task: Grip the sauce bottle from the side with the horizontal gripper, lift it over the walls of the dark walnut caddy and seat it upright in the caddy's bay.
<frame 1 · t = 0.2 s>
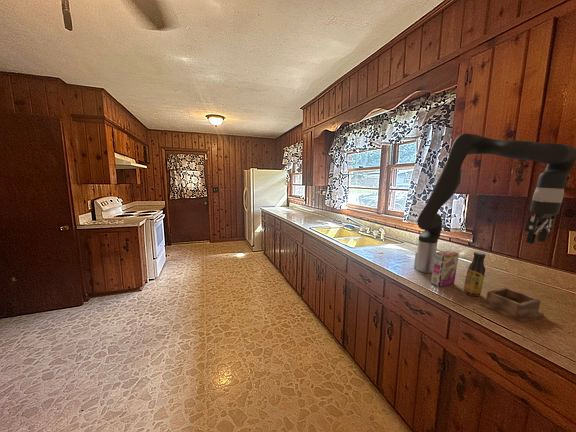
hand: (535, 242, 91), 29 cm above the table, tool pointing down, fingers open, 8 cm apart
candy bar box: (442, 284, 119), on the table
sauce bottle: (472, 294, 109), on the table
walnut caddy: (510, 309, 97), on the table
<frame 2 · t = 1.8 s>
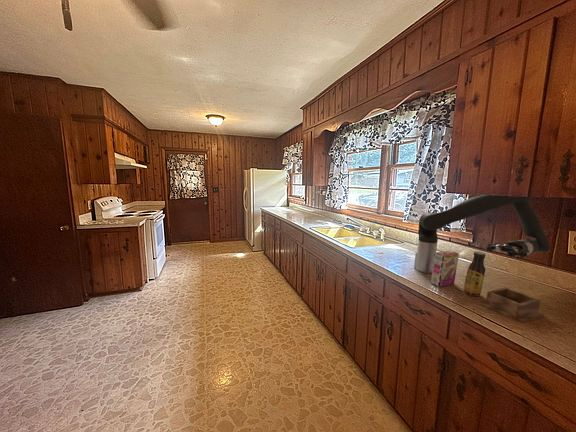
hand: (498, 251, 111), 19 cm above the table, tool horizontal, fingers open, 8 cm apart
nothing on the table moved.
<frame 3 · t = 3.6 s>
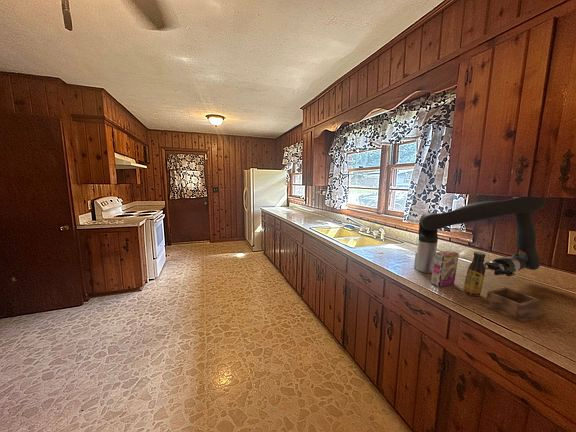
hand: (484, 269, 110), 11 cm above the table, tool horizontal, fingers open, 8 cm apart
nothing on the table moved.
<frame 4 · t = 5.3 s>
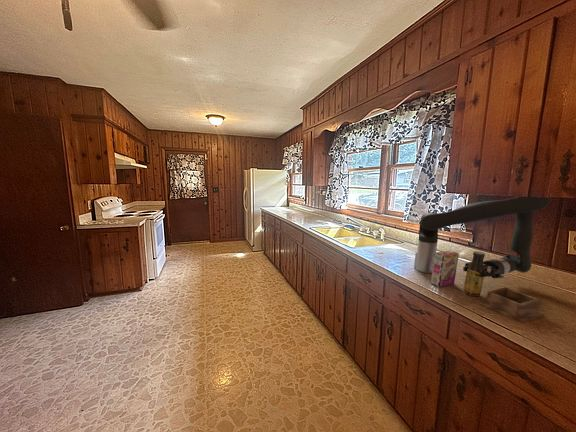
hand: (472, 271, 107), 11 cm above the table, tool horizontal, fingers closed on sauce bottle, 6 cm apart
sauce bottle: (472, 294, 109), on the table, touching gripper
everything else where it was.
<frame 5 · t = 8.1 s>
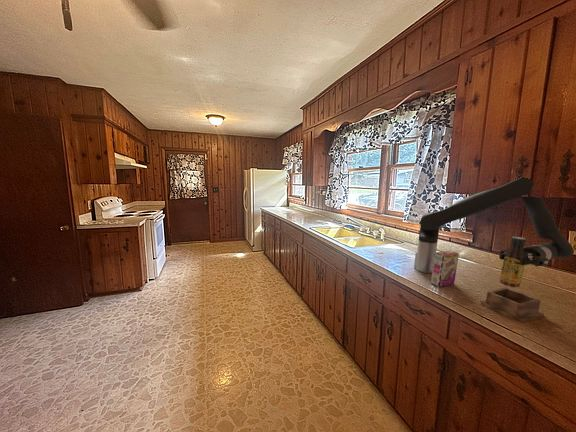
hand: (511, 259, 94), 21 cm above the table, tool horizontal, fingers closed on sauce bottle, 6 cm apart
sauce bottle: (510, 285, 97), point 10 cm above the table, touching gripper
everything else where it was.
when the fingers open (13 cm above the table, at t = 10.6 s): sauce bottle moves 1 cm, resting on walnut caddy.
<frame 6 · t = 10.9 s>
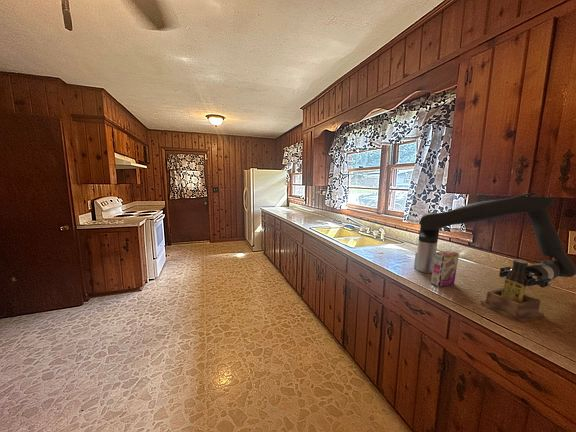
hand: (513, 278, 94), 13 cm above the table, tool horizontal, fingers open, 8 cm apart
sauce bottle: (510, 307, 97), point 1 cm above the table, touching walnut caddy
everything else where it was.
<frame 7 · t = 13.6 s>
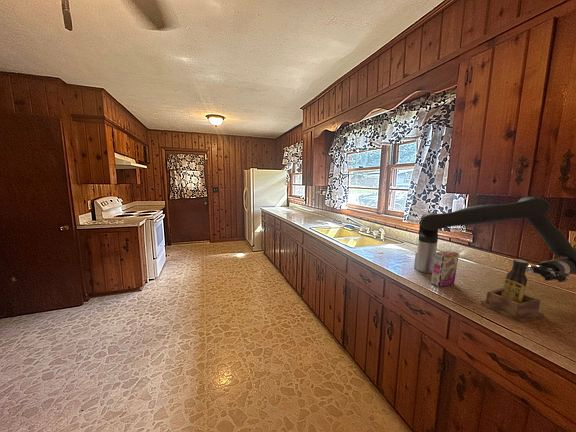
hand: (532, 274, 98), 14 cm above the table, tool horizontal, fingers open, 8 cm apart
nothing on the table moved.
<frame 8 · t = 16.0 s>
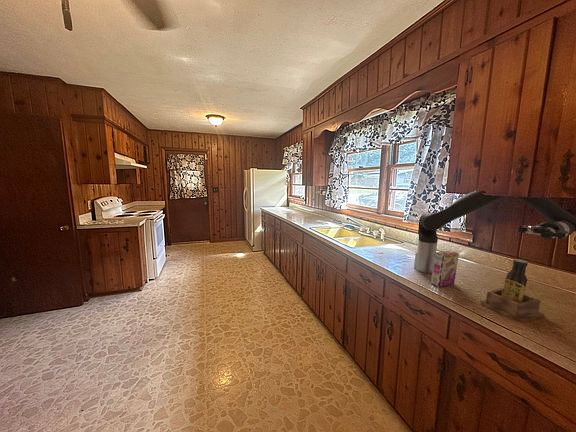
hand: (532, 232, 101), 30 cm above the table, tool horizontal, fingers open, 8 cm apart
nothing on the table moved.
at the end: sauce bottle 0.4 cm off-centre on the walnut caddy, point 0.8 cm above the walnut caddy's base; sauce bottle tilted 0°; the gripper is holding nothing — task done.
